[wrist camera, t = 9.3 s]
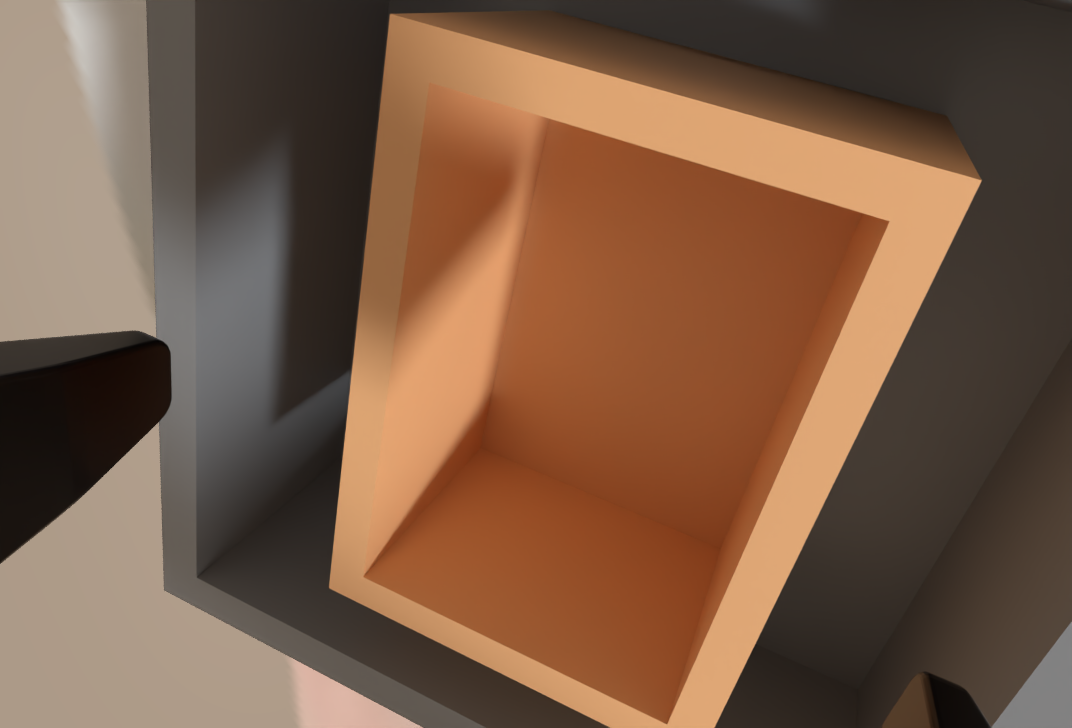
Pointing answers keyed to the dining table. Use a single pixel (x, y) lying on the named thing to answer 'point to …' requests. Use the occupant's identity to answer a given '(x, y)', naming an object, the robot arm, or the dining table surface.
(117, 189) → the dining table surface
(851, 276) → the orange crate
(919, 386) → the grey open box
